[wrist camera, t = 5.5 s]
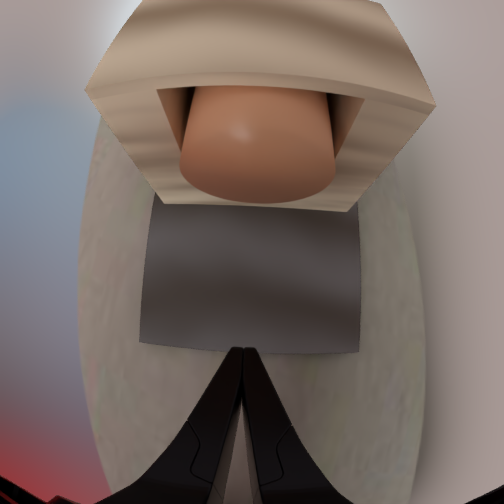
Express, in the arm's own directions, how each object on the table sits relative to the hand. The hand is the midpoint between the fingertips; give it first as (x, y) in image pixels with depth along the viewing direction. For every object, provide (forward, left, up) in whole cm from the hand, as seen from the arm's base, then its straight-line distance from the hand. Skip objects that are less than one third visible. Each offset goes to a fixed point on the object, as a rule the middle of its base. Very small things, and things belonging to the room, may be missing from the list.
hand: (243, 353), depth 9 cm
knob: (+10, 0, -3) cm, 11 cm away
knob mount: (+8, 0, -8) cm, 11 cm away
